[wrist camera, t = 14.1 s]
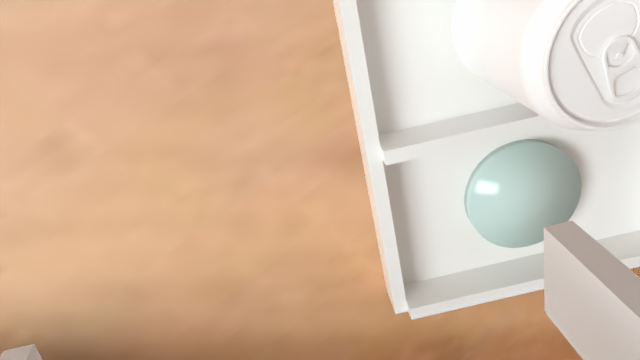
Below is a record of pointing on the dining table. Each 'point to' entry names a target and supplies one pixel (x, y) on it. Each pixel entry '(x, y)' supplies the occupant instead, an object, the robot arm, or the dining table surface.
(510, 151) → the pale green smooth oval
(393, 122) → the divided white tray
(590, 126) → the beverage can
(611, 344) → the robot arm
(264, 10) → the dining table surface
